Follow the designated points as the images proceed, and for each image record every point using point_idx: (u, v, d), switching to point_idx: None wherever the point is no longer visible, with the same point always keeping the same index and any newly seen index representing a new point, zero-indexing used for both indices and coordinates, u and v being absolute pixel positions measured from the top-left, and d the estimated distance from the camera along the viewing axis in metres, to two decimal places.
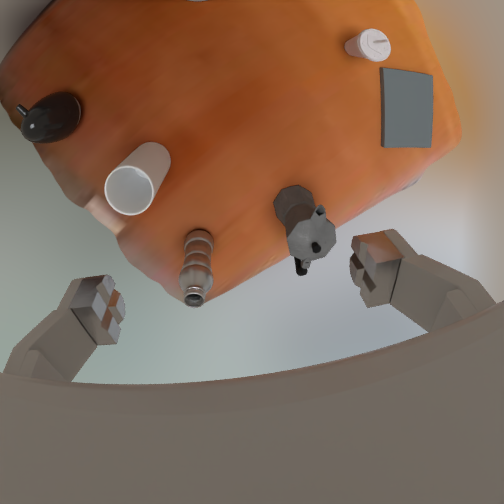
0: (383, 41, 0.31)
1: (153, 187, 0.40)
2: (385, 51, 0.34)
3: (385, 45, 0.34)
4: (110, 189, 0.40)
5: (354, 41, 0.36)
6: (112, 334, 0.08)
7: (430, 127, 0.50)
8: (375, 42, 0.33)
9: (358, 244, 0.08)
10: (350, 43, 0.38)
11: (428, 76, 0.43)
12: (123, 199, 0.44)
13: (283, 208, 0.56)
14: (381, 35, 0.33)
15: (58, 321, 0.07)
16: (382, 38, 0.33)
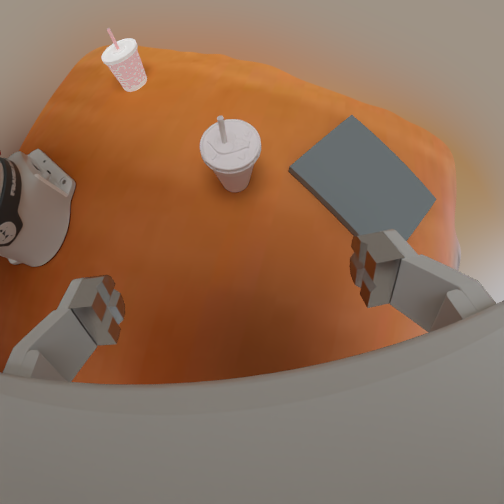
0: (220, 124, 0.24)
1: None
2: (250, 137, 0.27)
3: (243, 130, 0.28)
4: None
5: None
6: (112, 334, 0.08)
7: (412, 176, 0.35)
8: (223, 139, 0.26)
9: (358, 244, 0.08)
10: None
11: (348, 120, 0.37)
12: None
13: None
14: (226, 124, 0.28)
15: (58, 321, 0.07)
16: (232, 125, 0.28)
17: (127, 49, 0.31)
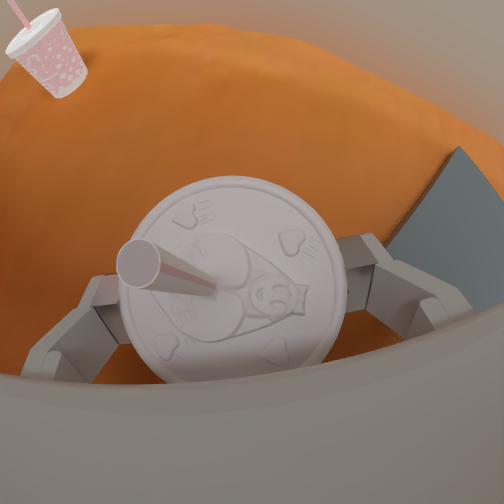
0: None
1: None
2: (309, 264, 0.07)
3: (280, 230, 0.07)
4: None
5: None
6: None
7: None
8: None
9: None
10: None
11: (457, 157, 0.17)
12: None
13: None
14: (213, 200, 0.08)
15: (80, 319, 0.07)
16: (236, 202, 0.08)
17: (42, 25, 0.12)
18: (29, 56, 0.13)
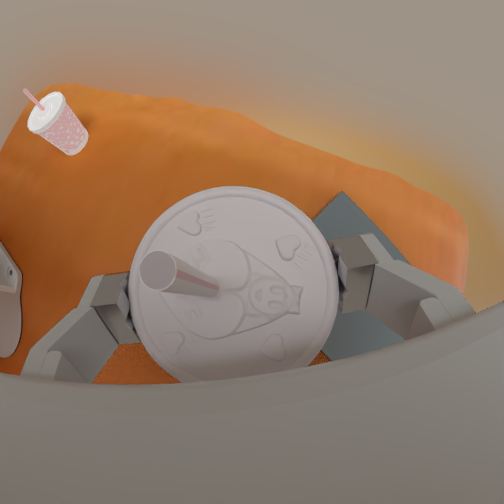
0: None
1: None
2: (304, 267, 0.08)
3: (277, 237, 0.08)
4: None
5: None
6: (136, 332, 0.08)
7: None
8: None
9: (332, 248, 0.08)
10: None
11: (337, 201, 0.30)
12: None
13: None
14: (216, 209, 0.08)
15: (80, 319, 0.07)
16: (237, 210, 0.09)
17: (53, 110, 0.24)
18: (47, 133, 0.25)
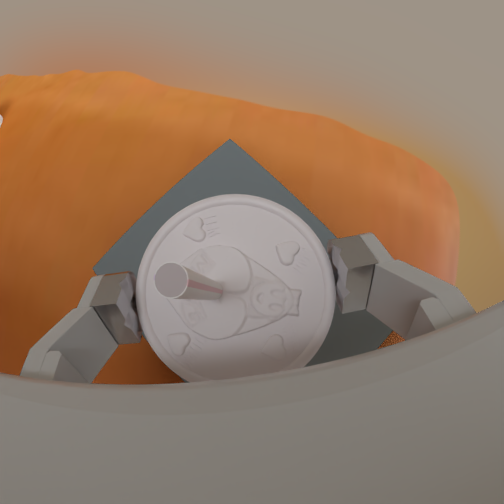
0: None
1: None
2: (303, 272, 0.08)
3: (277, 243, 0.09)
4: None
5: None
6: (135, 332, 0.08)
7: None
8: None
9: (332, 248, 0.08)
10: None
11: (219, 153, 0.20)
12: None
13: None
14: (219, 216, 0.09)
15: (80, 319, 0.07)
16: (239, 217, 0.09)
17: None
18: None
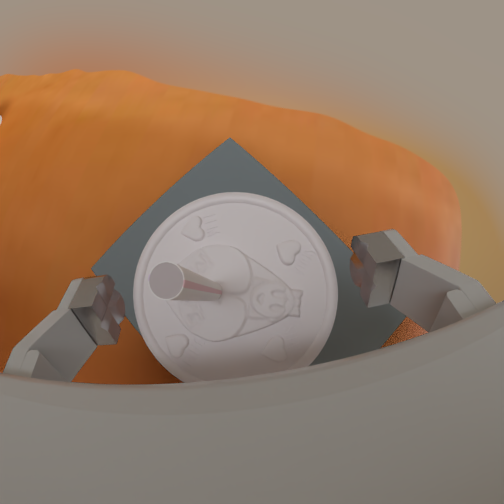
0: None
1: None
2: (304, 272, 0.08)
3: (278, 242, 0.08)
4: None
5: None
6: (112, 334, 0.08)
7: None
8: None
9: (358, 244, 0.08)
10: None
11: (219, 151, 0.19)
12: None
13: None
14: (218, 215, 0.09)
15: (59, 321, 0.07)
16: (239, 216, 0.09)
17: None
18: None
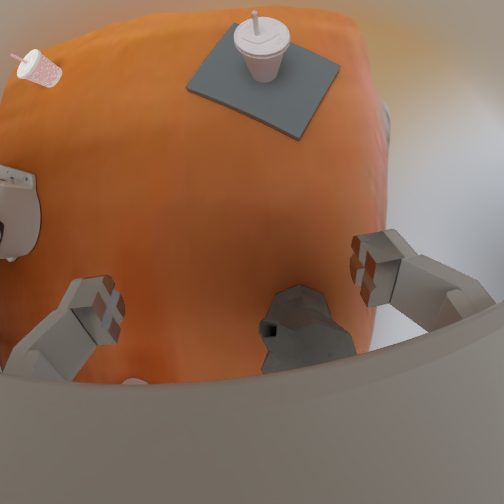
0: (254, 18, 0.21)
1: None
2: (277, 27, 0.24)
3: (268, 23, 0.24)
4: None
5: (248, 61, 0.28)
6: (112, 334, 0.08)
7: (308, 53, 0.33)
8: (256, 32, 0.23)
9: (358, 244, 0.08)
10: (251, 69, 0.30)
11: (231, 28, 0.33)
12: None
13: None
14: (251, 22, 0.24)
15: (59, 321, 0.07)
16: None
17: (33, 59, 0.28)
18: (33, 74, 0.30)
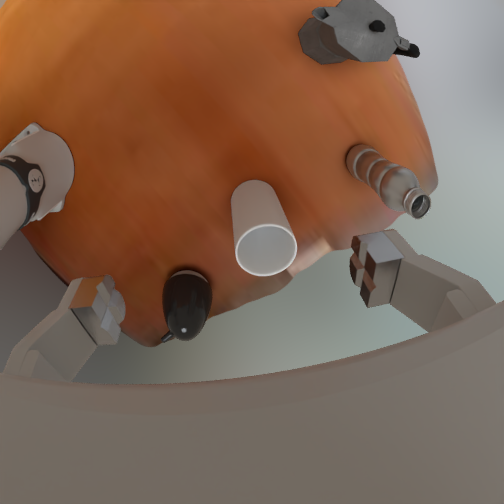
0: None
1: (266, 223, 0.35)
2: None
3: None
4: (263, 266, 0.41)
5: None
6: (112, 334, 0.08)
7: None
8: None
9: (358, 244, 0.08)
10: None
11: None
12: (281, 251, 0.42)
13: (326, 55, 0.32)
14: None
15: (58, 321, 0.07)
16: None
17: None
18: None
